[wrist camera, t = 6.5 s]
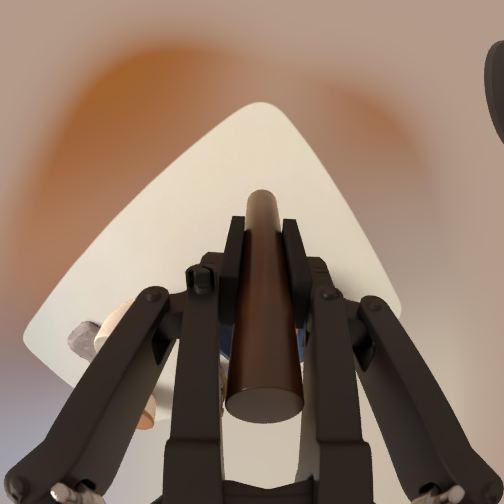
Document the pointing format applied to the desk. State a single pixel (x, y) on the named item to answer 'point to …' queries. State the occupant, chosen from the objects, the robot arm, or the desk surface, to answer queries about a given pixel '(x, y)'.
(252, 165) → the desk surface
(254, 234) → the stick
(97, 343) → the mug
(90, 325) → the stone block
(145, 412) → the lidded bowl
